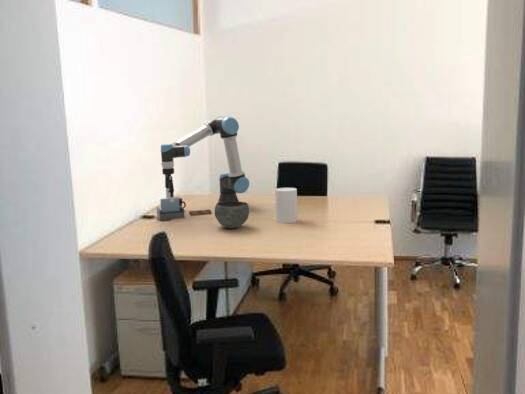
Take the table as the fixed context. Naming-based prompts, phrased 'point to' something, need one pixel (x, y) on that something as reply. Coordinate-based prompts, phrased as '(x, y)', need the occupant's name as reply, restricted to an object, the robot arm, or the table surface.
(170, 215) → the rack
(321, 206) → the table surface
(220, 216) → the bowl
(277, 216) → the canister
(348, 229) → the table surface
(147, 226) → the table surface
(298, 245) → the table surface
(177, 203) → the light blue slab
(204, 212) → the stand
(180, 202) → the mug
